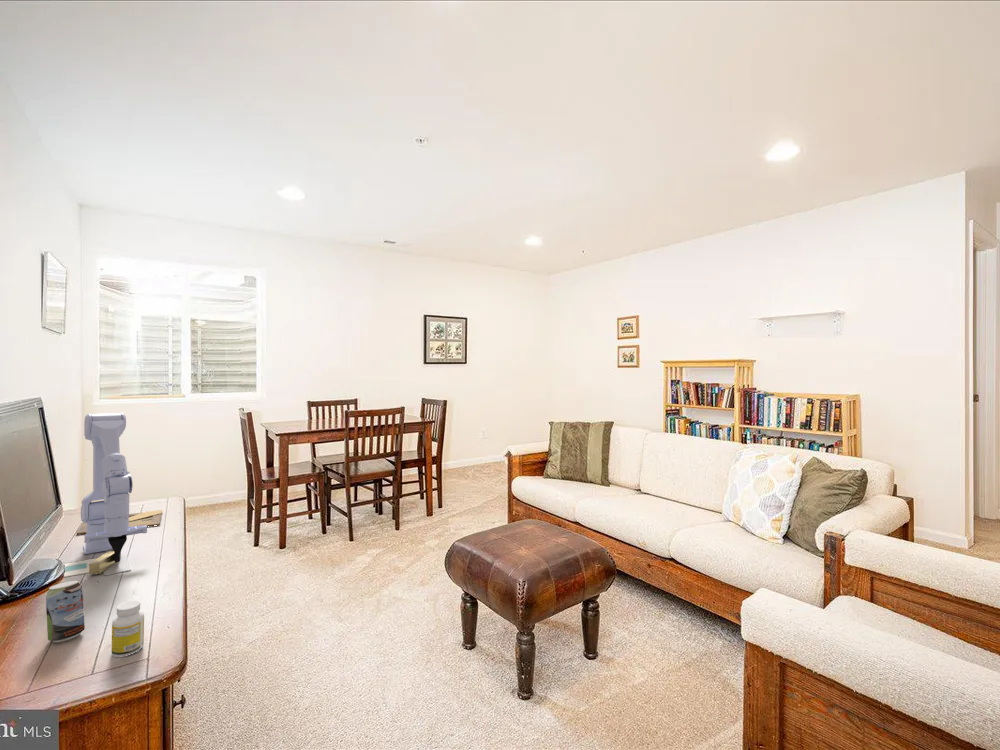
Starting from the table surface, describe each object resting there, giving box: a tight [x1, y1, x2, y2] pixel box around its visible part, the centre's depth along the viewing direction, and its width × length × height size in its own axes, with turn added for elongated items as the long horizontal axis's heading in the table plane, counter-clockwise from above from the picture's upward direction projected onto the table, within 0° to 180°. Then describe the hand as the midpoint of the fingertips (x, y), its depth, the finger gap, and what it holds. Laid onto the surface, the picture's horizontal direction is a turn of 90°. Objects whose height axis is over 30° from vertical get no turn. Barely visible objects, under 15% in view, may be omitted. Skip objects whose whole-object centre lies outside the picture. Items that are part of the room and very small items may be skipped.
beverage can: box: [45, 579, 86, 643], centre depth 105 cm, size 6×7×12 cm
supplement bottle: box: [111, 600, 145, 658], centre depth 101 cm, size 5×5×10 cm
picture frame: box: [76, 509, 163, 536], centre depth 180 cm, size 19×2×24 cm
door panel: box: [63, 548, 132, 578], centre depth 141 cm, size 16×14×4 cm
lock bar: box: [88, 551, 115, 575], centre depth 140 cm, size 9×2×3 cm, turn 14°
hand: (116, 561), depth 143 cm, fingers closed, pressing on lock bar
